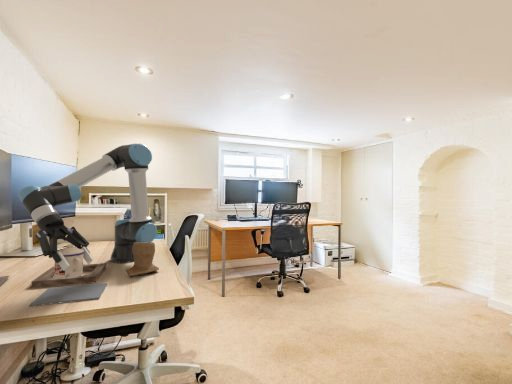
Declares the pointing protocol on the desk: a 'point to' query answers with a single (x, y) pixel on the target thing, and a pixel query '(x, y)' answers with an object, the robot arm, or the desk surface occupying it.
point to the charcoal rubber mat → (70, 294)
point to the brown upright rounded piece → (142, 258)
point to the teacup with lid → (70, 263)
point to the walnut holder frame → (48, 279)
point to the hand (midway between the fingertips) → (79, 264)
